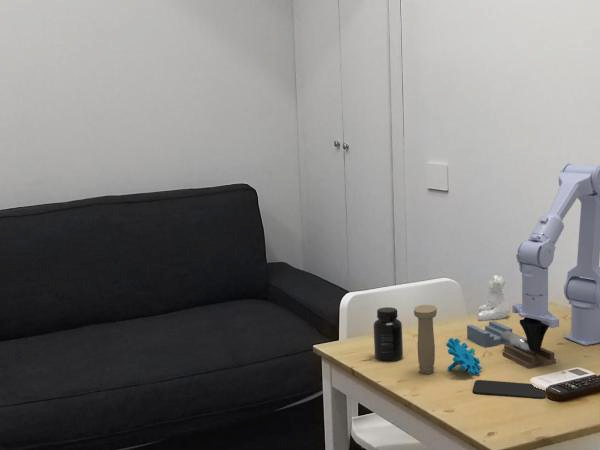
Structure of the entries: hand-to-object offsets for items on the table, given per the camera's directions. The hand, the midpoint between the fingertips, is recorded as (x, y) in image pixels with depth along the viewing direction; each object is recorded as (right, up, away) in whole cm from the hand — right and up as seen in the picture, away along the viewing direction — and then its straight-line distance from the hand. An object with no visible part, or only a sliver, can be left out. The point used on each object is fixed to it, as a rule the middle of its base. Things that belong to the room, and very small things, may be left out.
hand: (534, 349), depth 187 cm
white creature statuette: (0, +3, +38) cm, 38 cm away
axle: (-2, +1, +6) cm, 6 cm away
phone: (-10, -7, -15) cm, 19 cm away
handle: (-25, -5, -2) cm, 26 cm away
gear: (-17, -5, -3) cm, 18 cm away
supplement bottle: (-33, -3, +9) cm, 34 cm away
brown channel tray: (-1, -3, +3) cm, 4 cm away
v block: (-6, 0, +17) cm, 19 cm away
